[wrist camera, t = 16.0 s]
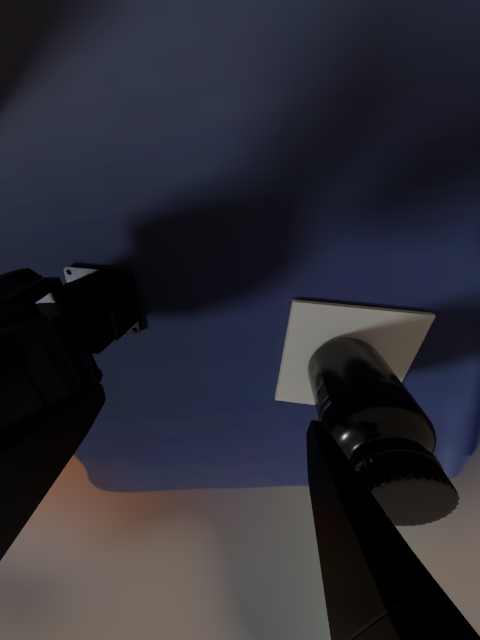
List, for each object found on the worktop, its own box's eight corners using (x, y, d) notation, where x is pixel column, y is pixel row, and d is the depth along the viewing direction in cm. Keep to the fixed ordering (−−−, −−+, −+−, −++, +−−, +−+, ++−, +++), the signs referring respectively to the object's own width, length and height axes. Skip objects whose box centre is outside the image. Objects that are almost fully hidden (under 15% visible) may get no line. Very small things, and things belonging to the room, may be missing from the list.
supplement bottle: (341, 400, 25) (394, 547, 14) (292, 367, 24) (311, 502, 13) (396, 360, 22) (514, 509, 11) (344, 321, 21) (423, 447, 10)
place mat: (275, 395, 27) (275, 399, 26) (292, 299, 21) (293, 301, 20) (383, 409, 26) (385, 413, 25) (431, 312, 20) (435, 315, 20)
